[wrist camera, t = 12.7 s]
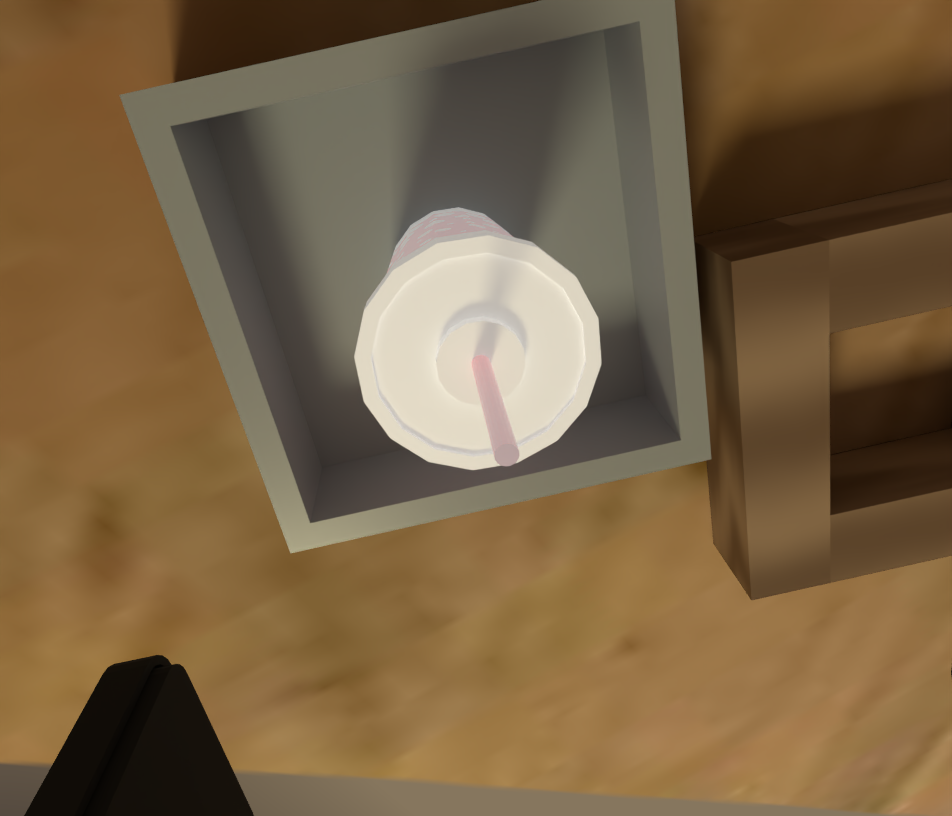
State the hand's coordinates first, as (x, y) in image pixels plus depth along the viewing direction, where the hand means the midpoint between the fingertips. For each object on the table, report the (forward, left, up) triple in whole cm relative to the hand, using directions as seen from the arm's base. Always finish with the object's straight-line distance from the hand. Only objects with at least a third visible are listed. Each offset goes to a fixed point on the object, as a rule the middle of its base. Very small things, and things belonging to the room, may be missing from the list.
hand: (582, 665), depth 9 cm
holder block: (-8, -15, -20) cm, 27 cm away
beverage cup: (0, 0, -20) cm, 20 cm away
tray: (0, +1, -20) cm, 20 cm away
